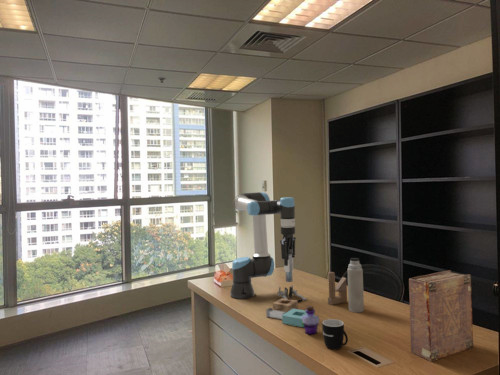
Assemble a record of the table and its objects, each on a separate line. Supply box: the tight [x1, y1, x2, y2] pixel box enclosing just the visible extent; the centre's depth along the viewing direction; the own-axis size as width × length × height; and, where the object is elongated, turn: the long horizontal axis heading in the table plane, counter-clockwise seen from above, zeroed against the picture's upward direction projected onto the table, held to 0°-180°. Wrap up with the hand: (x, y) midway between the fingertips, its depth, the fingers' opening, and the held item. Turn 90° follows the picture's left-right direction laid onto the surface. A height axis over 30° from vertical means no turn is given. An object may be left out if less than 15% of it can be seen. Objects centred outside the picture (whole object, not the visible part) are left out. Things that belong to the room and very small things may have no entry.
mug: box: [321, 318, 349, 350], centre depth 158 cm, size 12×9×10 cm
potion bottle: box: [302, 305, 320, 336], centre depth 175 cm, size 9×9×12 cm
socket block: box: [281, 308, 315, 328], centre depth 189 cm, size 12×12×4 cm
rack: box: [272, 297, 299, 313], centre depth 205 cm, size 10×10×5 cm
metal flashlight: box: [285, 249, 293, 283], centre depth 199 cm, size 4×4×17 cm
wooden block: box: [327, 271, 348, 306], centre depth 216 cm, size 4×11×18 cm, turn 111°
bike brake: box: [277, 284, 307, 303], centre depth 224 cm, size 14×7×20 cm
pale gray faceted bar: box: [265, 307, 286, 320], centre depth 195 cm, size 14×4×4 cm, turn 57°
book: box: [408, 269, 474, 362], centre depth 152 cm, size 25×9×30 cm, turn 116°
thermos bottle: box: [347, 257, 365, 313], centre depth 203 cm, size 8×8×28 cm
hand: (288, 270), depth 199 cm, fingers closed on metal flashlight, 3 cm apart
